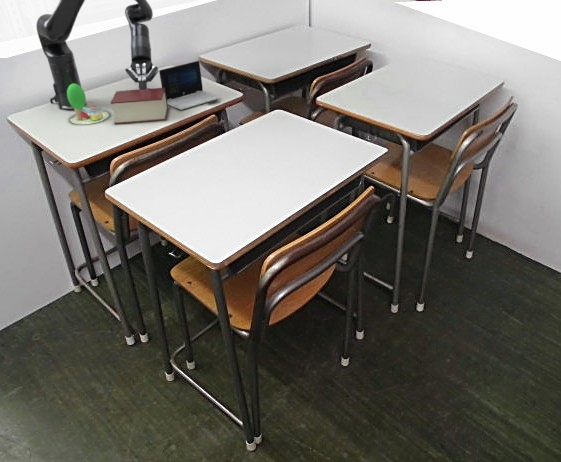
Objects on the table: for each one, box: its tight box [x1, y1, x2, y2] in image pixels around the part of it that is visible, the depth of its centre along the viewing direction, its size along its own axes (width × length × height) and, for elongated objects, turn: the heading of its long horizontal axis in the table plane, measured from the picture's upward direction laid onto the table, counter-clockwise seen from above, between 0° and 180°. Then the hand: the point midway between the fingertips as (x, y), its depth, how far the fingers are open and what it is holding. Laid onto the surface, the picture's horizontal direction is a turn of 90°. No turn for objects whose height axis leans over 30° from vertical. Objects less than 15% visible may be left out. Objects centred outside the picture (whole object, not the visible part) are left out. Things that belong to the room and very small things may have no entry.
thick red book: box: [110, 87, 169, 125], centre depth 194 cm, size 18×13×8 cm
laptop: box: [158, 60, 220, 111], centre depth 203 cm, size 18×12×13 cm
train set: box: [67, 84, 110, 125], centre depth 193 cm, size 15×14×14 cm
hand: (143, 91), depth 202 cm, fingers closed
